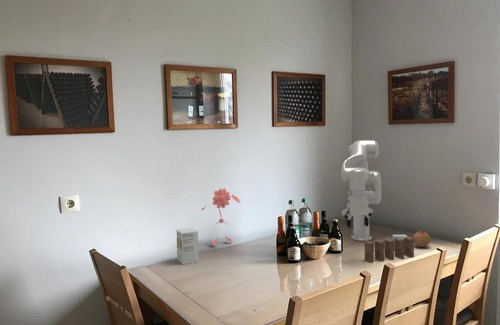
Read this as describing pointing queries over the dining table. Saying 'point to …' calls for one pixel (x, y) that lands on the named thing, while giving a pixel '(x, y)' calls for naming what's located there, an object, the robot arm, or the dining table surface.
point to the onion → (421, 239)
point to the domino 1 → (369, 251)
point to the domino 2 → (379, 250)
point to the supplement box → (187, 246)
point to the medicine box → (398, 236)
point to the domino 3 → (389, 249)
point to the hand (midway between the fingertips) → (357, 226)
